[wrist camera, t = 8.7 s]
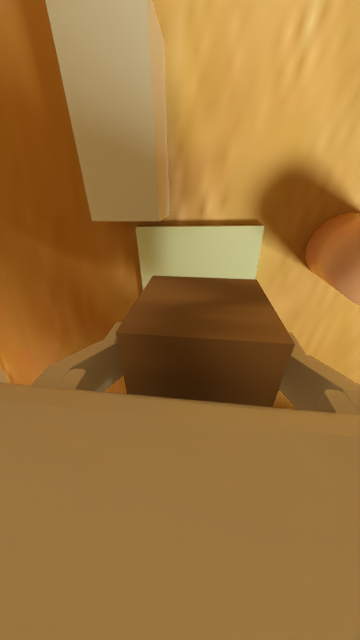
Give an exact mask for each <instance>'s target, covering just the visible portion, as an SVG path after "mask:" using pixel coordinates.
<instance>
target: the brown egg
mask: <svg viewBox="0 0 360 640" xmlns="http://www.w3.org/2000/svg"><path fill="white" fill-rule="evenodd" d="M305 262H306V264H307V266H308V268H309V269H310V270H311V271H312V272H313V273H314V274H316V275H317V276H318V277H320V278H321V279H323V280H324V281H325V282H327V283H328V284H329V285H331V286H332V287H333V288H335V289H336V290H337V291H339V292H340V293H342V294H343V295H344V296H346V297H347V298H348V299H350V300H351V301H352V302H354V303H356V304H358V305H360V213H352V212H350V213H343V214H339V215H336V216H334V217H332V218H330V219H328V220H327V221H325V222H324V223H322V224H321V225H320V226H319V227H318V228H317V229H316V230H315V231H314V233H313V234H312V235H311V237H310V238H309V240H308V243H307V245H306V249H305Z"/></svg>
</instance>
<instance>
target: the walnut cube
mask: <svg viewBox="0 0 360 640" xmlns="http://www.w3.org/2000/svg"><path fill="white" fill-rule="evenodd" d="M116 338H117V343H118V348H119V353H120V358H121V364H122V369H123V374H124V379H125V384H126V390H127V394H132V395H143V396H154V397H165V398H176V399H187V400H198V401H209V402H220V403H231V404H242V405H253V406H263V407H272V406H273V403H274V400H275V398H276V395H277V392H278V390H279V387H280V384H281V381H282V379H283V376H284V373H285V371H286V368H287V365H288V362H289V360H290V357H291V354H292V351H293V349H294V346H295V343H294V341H293V340H292V338H291V336H290V335H289V333H288V331H287V330H286V328H285V326H284V325H283V323H282V321H281V320H280V318H279V316H278V315H277V313H276V311H275V310H274V308H273V306H272V305H271V303H270V301H269V300H268V298H267V296H266V295H265V293H264V291H263V290H262V288H261V286H260V285H259V283H258V281H257V280H256V279H232V278H206V277H180V276H154V275H153V276H152V278H151V279H150V281H149V282H148V284H147V285H146V287H145V288H144V290H143V291H142V293H141V294H140V296H139V297H138V299H137V300H136V302H135V304H134V305H133V307H132V308H131V310H130V311H129V313H128V314H127V316H126V317H125V319H124V320H123V322H122V323H121V325H120V326H119V328H118V330H117V331H116Z"/></svg>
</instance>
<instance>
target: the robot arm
mask: <svg viewBox="0 0 360 640" xmlns="http://www.w3.org/2000/svg"><path fill="white" fill-rule="evenodd" d="M121 323H122V322H117V323H115V325H114V326H113V327H112V329H111V330H110V332H109V333H108V334H107V336H106V337H105V339H104V340H103V341H99V342H97V343H94V344H92V345H90V346H88V347H86V348H84V349H82V350H80V351H78V352H76V353H74V354H72V355H70V356H68V357H66V358H64V359H62V360H60V361H58V362H56V363H54V364H51V365H49V366H48V367H47V369H46V370H45V371H44V372H43V373H42V374H41V375H40V376H39V377H38V378H37V379H36V380H35V382H34V383H33V384H32V385H24V384H13V383H1V382H0V640H360V385H359V384H357V383H355V382H354V381H352V380H350V379H349V378H347V377H345V376H344V375H342V374H340V373H339V372H337V371H335V370H334V369H332V368H330V367H329V366H327V365H325V364H324V363H322V362H320V361H319V360H317V359H315V358H314V357H312V356H309V355H306V354H305V352H304V350H303V349H302V347H301V346H300V344H299V343H298V341H297V339H296V338H295V336H294V335H293V333H291V332H288V333H289V335H290V336H291V338H292V340H293V341H294V343H295V346H294V349H293V351H292V354H291V357H290V360H289V362H288V365H287V368H286V371H285V373H284V376H283V379H282V381H281V384H280V387H279V390H280V391H281V392H282V393H283V394H284V395H285V396H286V397H287V398H288V399H289V400H290V401H291V402H292V403H293V404H294V405H295V406H296V407H297V408H298V409H299V410H296V409H285V408H274V407H263V406H253V405H242V404H231V403H220V402H209V401H198V400H187V399H176V398H165V397H154V396H143V395H132V394H121V393H111V392H104V391H105V390H106V389H107V388H109V387H110V386H111V385H112V384H113V383H115V382H116V381H117V380H118V379H119V378H120V377H122V376H123V375H124V374H123V369H122V364H121V358H120V353H119V348H118V343H117V338H116V331H117V330H118V328H119V326H120V325H121Z"/></svg>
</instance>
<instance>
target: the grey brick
mask: <svg viewBox="0 0 360 640" xmlns="http://www.w3.org/2000/svg"><path fill="white" fill-rule="evenodd" d="M45 1H46V6H47V11H48V15H49V20H50V25H51V30H52V34H53V39H54V44H55V49H56V53H57V58H58V63H59V68H60V72H61V77H62V82H63V87H64V91H65V96H66V101H67V106H68V110H69V115H70V120H71V125H72V129H73V134H74V139H75V144H76V148H77V153H78V158H79V163H80V167H81V172H82V177H83V182H84V186H85V191H86V196H87V201H88V205H89V210H90V215H91V220H92V221H161V220H163V219H164V218H166V217H168V216H170V205H169V174H168V143H167V112H166V81H165V51H164V40H163V36H162V33H161V29H160V26H159V22H158V18H157V15H156V11H155V8H154V4H153V1H152V0H45Z"/></svg>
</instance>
